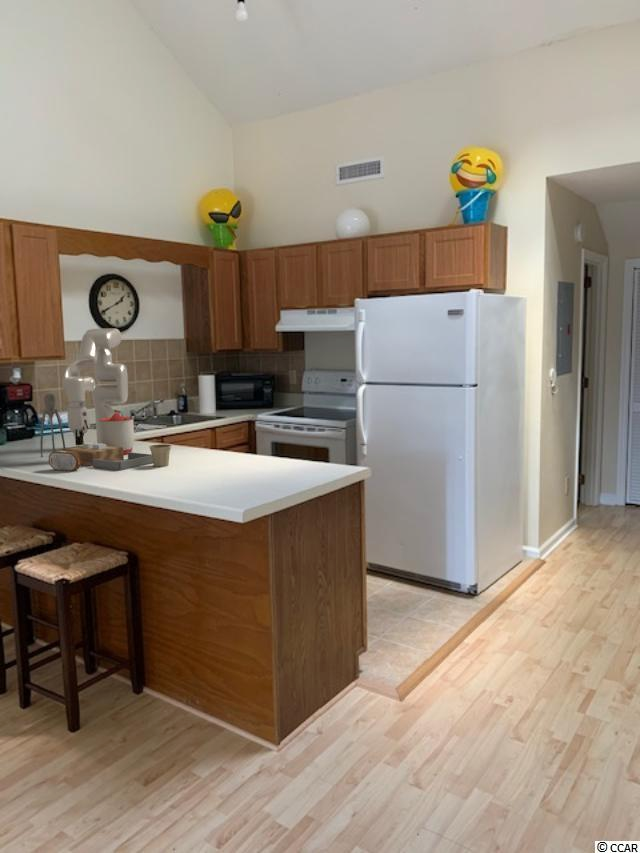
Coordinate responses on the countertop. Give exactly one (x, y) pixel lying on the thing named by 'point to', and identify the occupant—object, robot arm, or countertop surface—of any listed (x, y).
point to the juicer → (50, 406)
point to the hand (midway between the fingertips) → (79, 444)
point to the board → (97, 454)
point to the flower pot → (160, 454)
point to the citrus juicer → (118, 432)
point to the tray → (125, 462)
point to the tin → (64, 460)
